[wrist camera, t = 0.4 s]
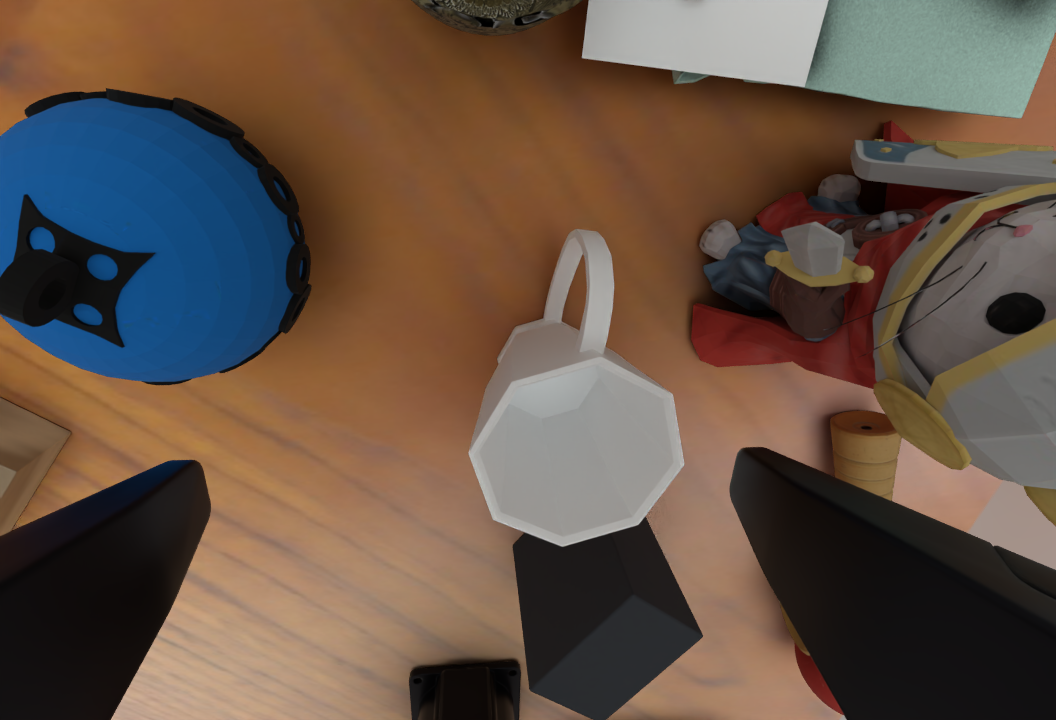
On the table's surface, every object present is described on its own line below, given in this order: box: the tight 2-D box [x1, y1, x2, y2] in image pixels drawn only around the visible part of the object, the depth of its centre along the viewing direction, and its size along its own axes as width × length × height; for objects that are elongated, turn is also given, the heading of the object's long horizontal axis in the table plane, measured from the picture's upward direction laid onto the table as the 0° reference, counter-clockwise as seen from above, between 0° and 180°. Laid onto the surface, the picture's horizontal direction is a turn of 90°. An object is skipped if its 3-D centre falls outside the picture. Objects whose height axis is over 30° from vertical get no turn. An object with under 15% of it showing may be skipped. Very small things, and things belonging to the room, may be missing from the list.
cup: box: [468, 229, 684, 547], centre depth 19 cm, size 7×10×8 cm
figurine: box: [691, 120, 1056, 526], centre depth 15 cm, size 13×11×15 cm
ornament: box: [0, 88, 312, 385], centre depth 15 cm, size 9×9×10 cm
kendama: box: [780, 410, 902, 715], centre depth 28 cm, size 8×6×18 cm
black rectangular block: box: [513, 517, 703, 720], centre depth 24 cm, size 4×6×8 cm, turn 140°
